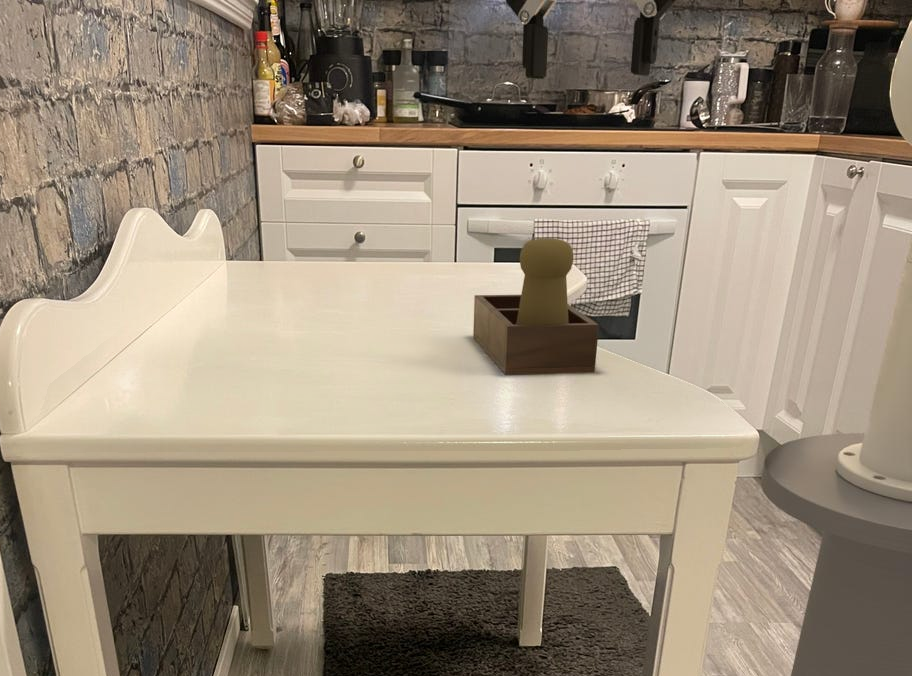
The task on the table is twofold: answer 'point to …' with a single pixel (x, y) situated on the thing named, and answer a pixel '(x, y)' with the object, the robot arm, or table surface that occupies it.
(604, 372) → the table surface
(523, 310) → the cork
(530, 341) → the divided wooden box
